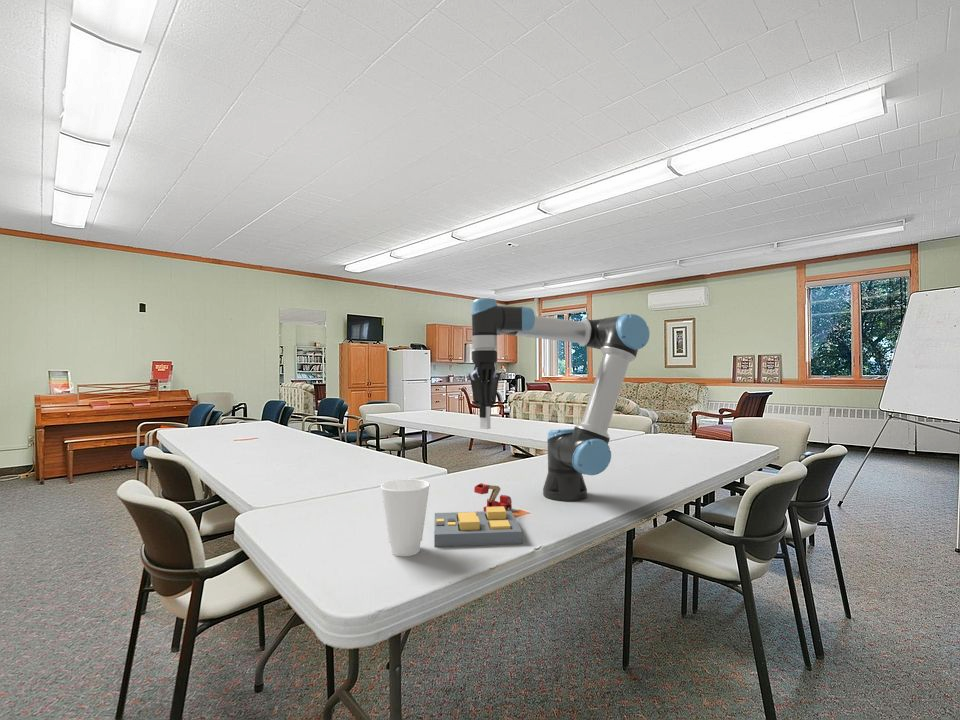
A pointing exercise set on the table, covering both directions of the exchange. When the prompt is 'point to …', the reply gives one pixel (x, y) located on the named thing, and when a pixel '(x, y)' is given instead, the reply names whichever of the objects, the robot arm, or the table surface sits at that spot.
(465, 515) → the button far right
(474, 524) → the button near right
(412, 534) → the cup
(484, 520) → the board
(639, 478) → the table surface
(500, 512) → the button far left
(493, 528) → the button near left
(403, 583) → the table surface
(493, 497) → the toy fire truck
